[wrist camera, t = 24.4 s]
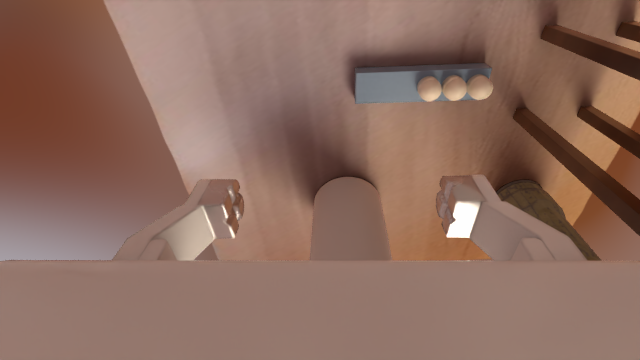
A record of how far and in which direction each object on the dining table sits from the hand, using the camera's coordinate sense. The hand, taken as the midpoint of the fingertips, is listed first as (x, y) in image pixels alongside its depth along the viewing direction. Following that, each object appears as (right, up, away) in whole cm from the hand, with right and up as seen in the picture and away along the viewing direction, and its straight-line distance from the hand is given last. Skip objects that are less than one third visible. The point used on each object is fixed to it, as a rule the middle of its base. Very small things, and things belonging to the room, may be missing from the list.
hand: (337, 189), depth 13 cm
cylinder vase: (+4, -4, +46) cm, 47 cm away
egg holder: (+13, +15, +32) cm, 38 cm away
